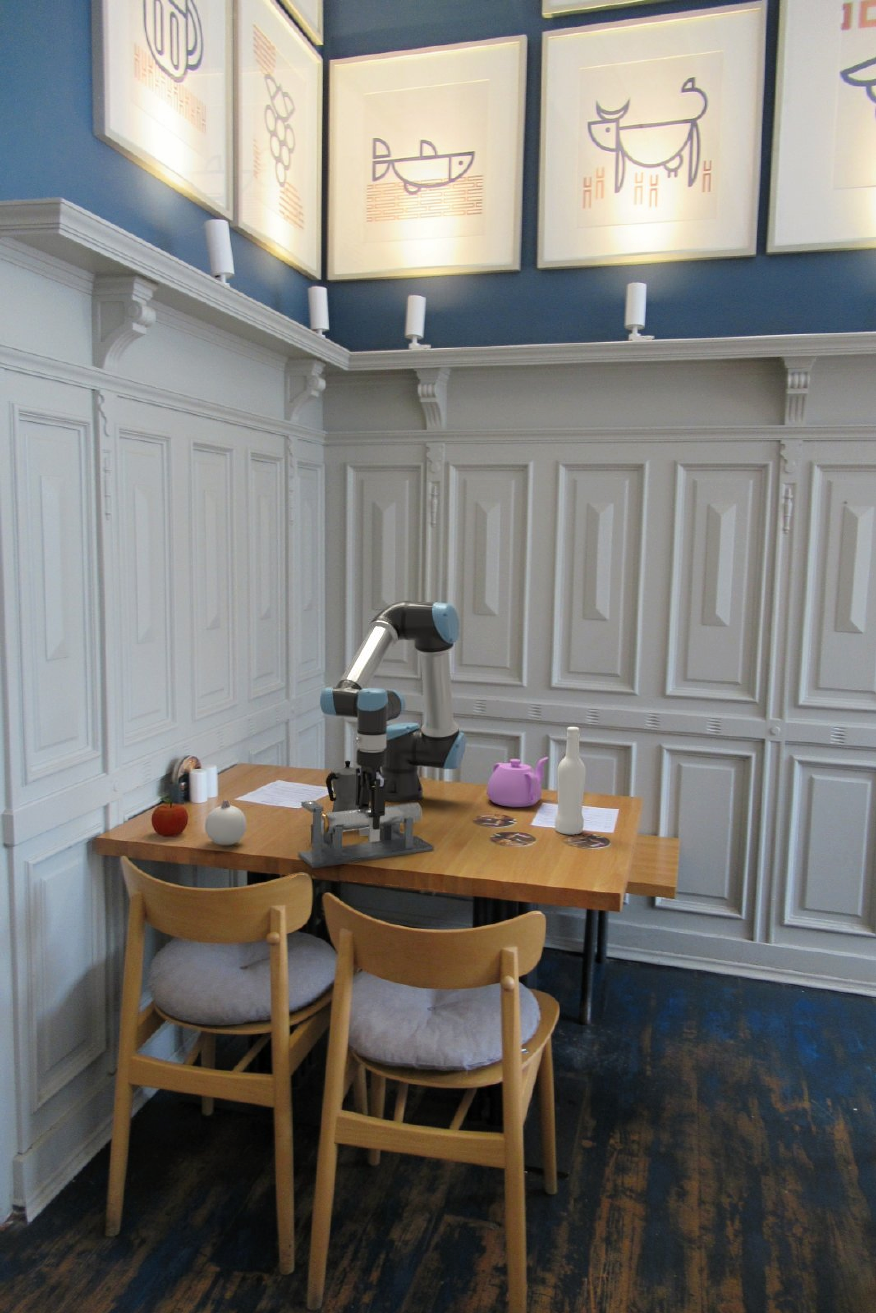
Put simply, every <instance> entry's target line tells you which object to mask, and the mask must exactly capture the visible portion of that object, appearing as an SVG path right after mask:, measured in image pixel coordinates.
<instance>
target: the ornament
mask: <svg viewBox="0 0 876 1313" xmlns="http://www.w3.org/2000/svg"><path fill="white" fill-rule="evenodd" d="M247 826H248V825H247V819H246V816H245V814H244V812H243V811H242V810H241V809H240V808H238V807H236V806H234V805H230V803H229V801H228V800H227V799H223V801H222V804H221V805H220V806H217V807H215V808H214V809H212V810H211V811H210V812H209V813H208V815H207V817H206V819H205V826H204V828H205V832H206V834H207V837H208V839H209V840H211V841H212V842H213V843H214V844H217V845H218V846H219V845H220V846H231V845H233V844H236V843H238V842H239V841H240V840H241V839H242V838H243V837H244V835H245V834H246V830H247Z"/></svg>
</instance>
